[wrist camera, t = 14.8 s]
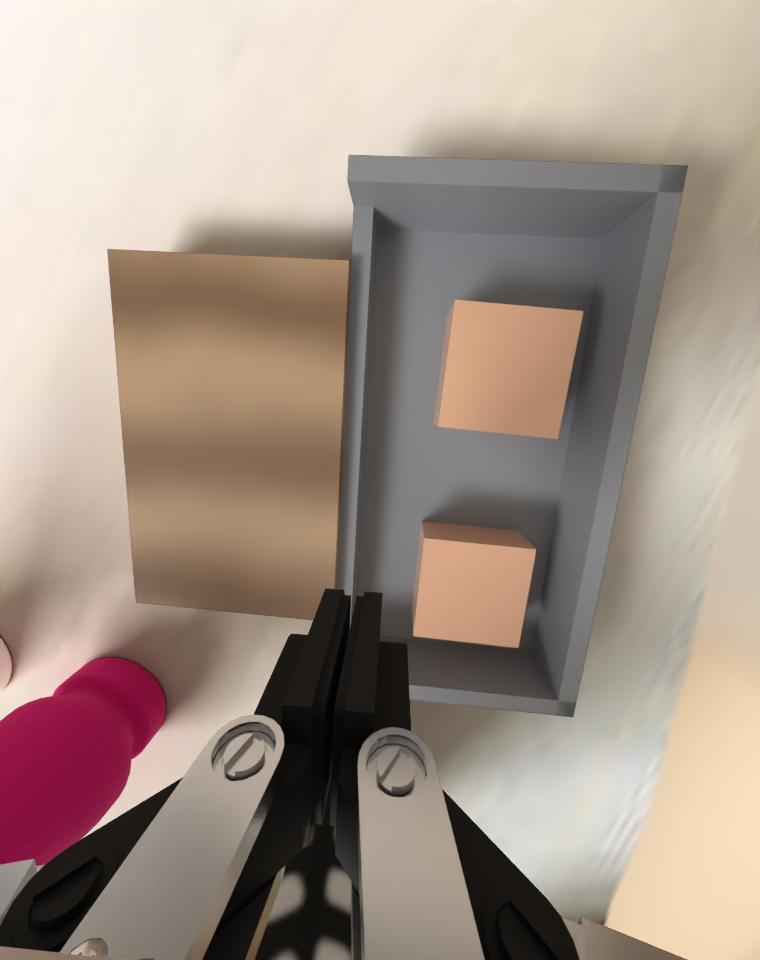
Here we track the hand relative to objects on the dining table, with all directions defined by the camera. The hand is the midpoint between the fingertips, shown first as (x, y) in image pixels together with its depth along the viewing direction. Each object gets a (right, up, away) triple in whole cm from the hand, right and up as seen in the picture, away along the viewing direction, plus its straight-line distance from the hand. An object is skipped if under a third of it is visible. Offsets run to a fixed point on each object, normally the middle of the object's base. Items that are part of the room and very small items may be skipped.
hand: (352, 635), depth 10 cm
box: (+5, +6, +8) cm, 11 cm away
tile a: (+6, +9, +4) cm, 11 cm away
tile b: (+5, -1, +6) cm, 8 cm away
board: (-6, +6, +9) cm, 12 cm away
